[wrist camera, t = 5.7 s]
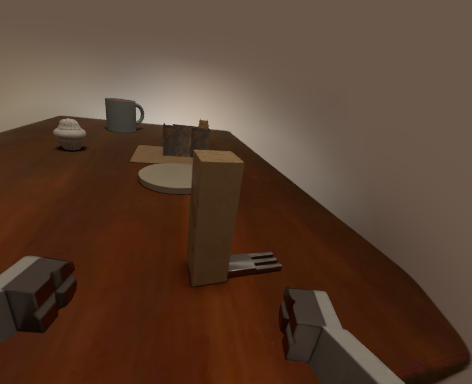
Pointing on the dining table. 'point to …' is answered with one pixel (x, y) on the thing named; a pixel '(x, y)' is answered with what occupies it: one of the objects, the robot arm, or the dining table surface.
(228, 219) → the brown block with prongs
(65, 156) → the dining table surface
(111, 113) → the mug
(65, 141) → the muffin
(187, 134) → the ruin model on sheet
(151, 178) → the plate
